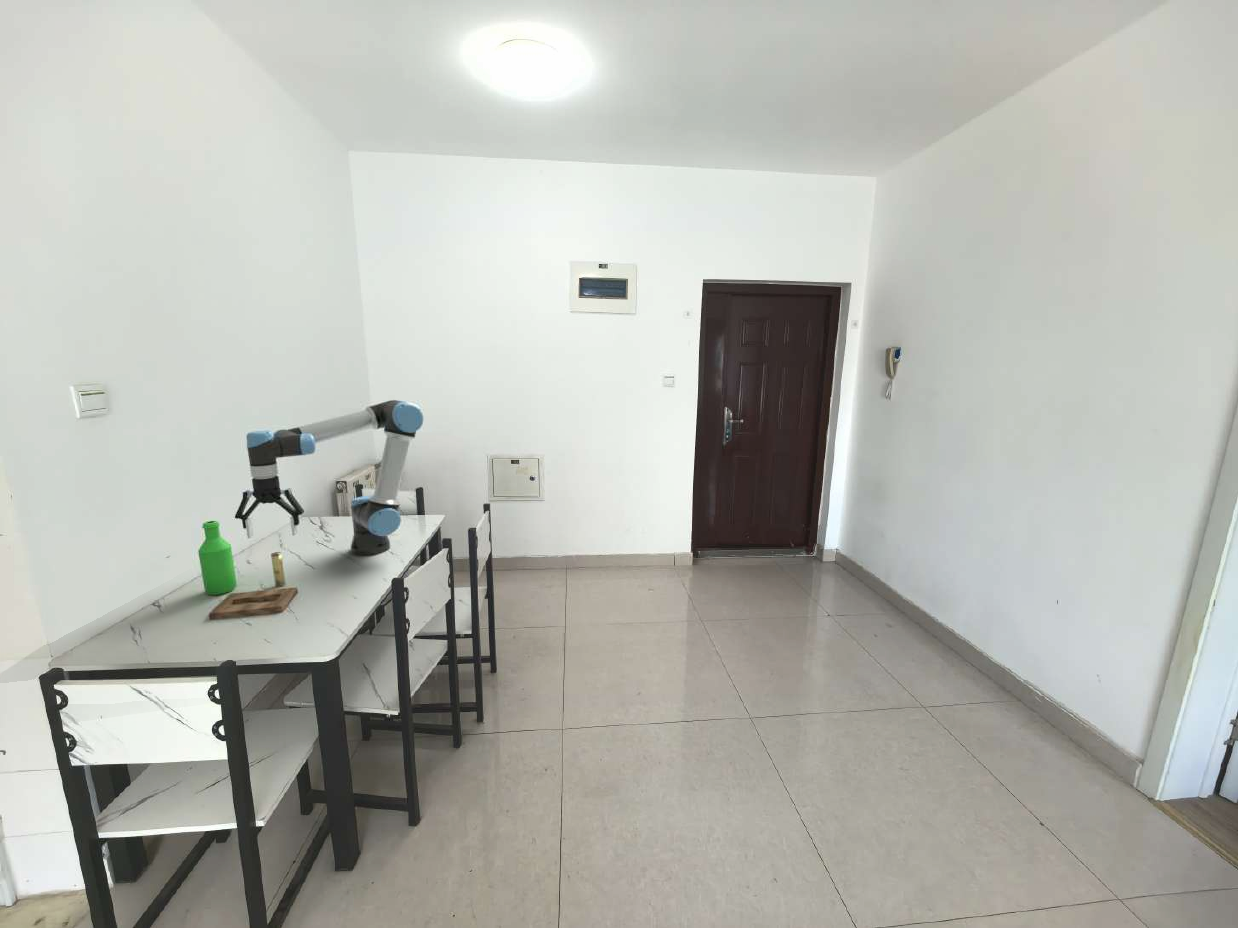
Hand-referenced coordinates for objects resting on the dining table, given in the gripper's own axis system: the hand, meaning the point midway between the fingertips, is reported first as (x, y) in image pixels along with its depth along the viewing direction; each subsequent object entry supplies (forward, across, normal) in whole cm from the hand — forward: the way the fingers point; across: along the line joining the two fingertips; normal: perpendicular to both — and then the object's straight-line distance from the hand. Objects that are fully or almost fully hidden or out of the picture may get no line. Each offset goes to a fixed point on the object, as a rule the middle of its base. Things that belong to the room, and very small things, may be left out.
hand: (273, 535), depth 176 cm
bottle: (+19, +18, 0) cm, 26 cm away
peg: (+19, 0, 0) cm, 19 cm away
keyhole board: (+19, +2, +15) cm, 24 cm away
